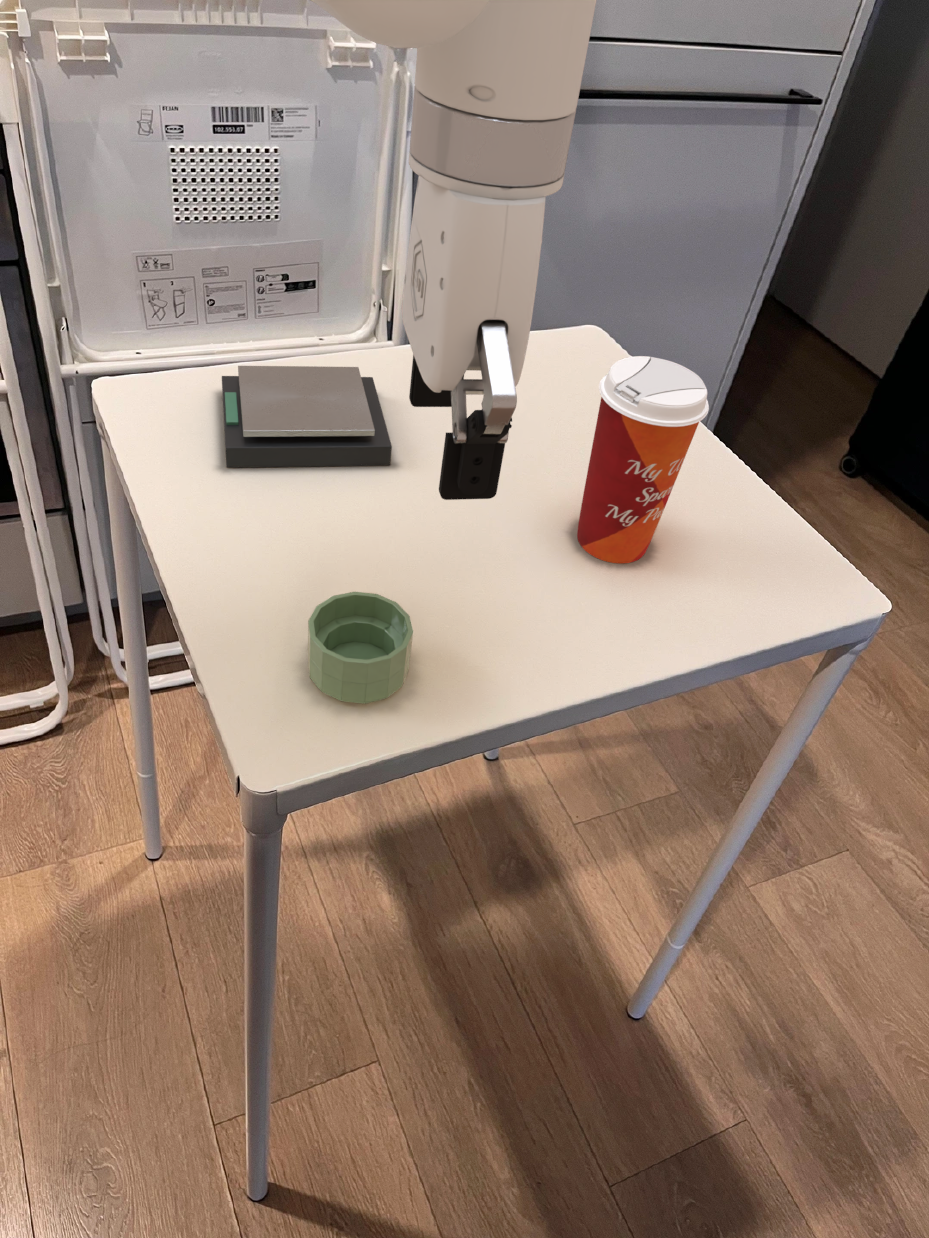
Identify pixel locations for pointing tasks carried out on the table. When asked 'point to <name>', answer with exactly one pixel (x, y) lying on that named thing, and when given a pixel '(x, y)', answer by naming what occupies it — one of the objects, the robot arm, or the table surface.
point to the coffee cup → (637, 453)
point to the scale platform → (303, 401)
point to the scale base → (302, 439)
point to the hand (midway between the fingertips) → (449, 447)
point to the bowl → (359, 647)
